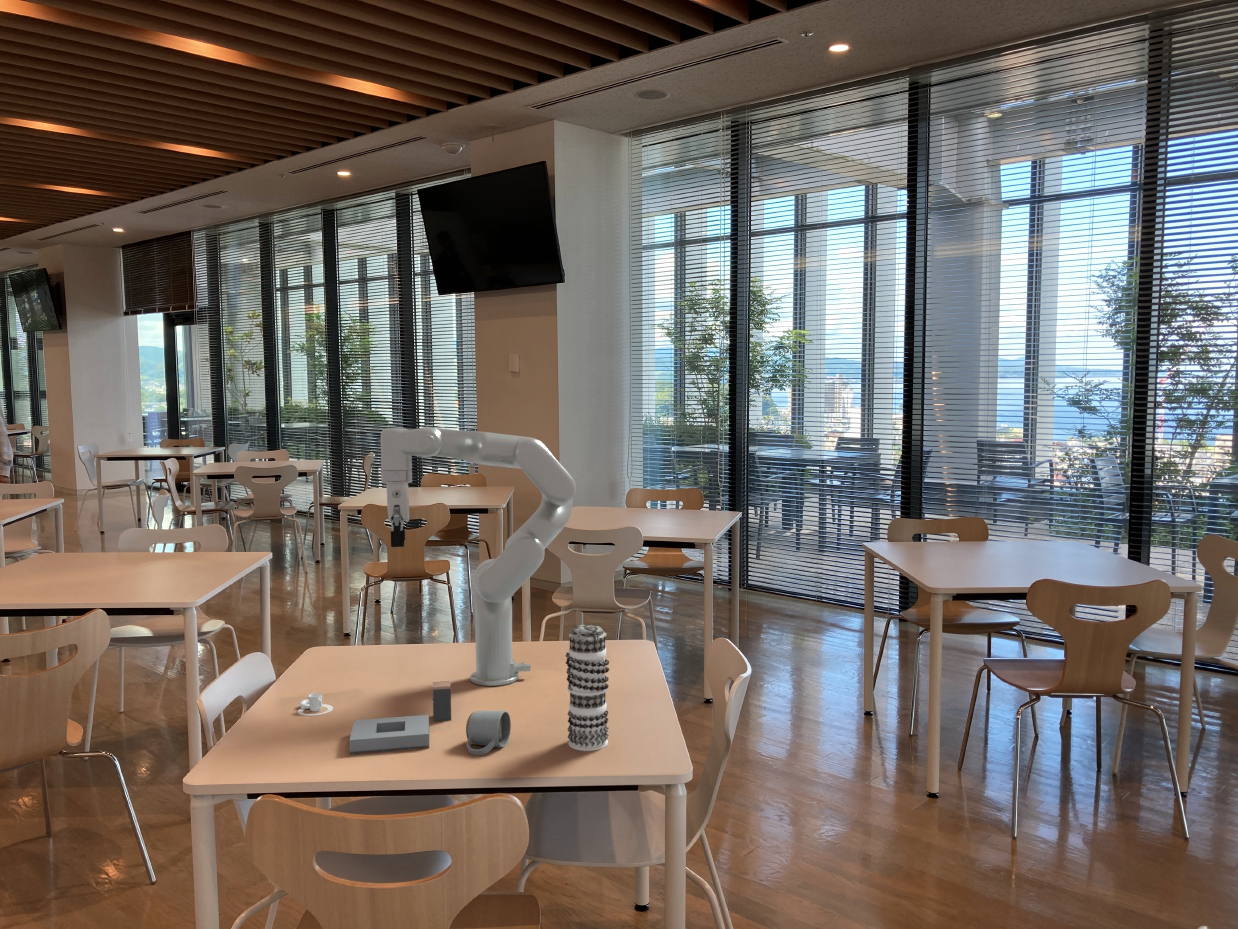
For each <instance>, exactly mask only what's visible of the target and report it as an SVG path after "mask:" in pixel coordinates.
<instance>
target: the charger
mask: <svg viewBox="0 0 1238 929" xmlns="http://www.w3.org/2000/svg"><path fill="white" fill-rule="evenodd" d="M451 690H452V686H451V680H442V681H432V717H433V721H432V722H436V723H437V722H446V721H447V722H448V721H449V722H450V721H452V691H451Z"/></svg>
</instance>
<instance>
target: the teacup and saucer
mask: <svg viewBox="0 0 1238 929" xmlns="http://www.w3.org/2000/svg"><path fill="white" fill-rule="evenodd" d="M307 696H308V698H307V699H303V700H301V701H300V702H299V707H300V708H299V709H298V710H297V714H298V715H300V716H305V717H313V716H321V715H322V716H323V715H326V714H328V713H330V712H332V711H333V710H334V707H333V706H332V705H330V704H325V703H324V704H323V693H320V692H314V693H310V694H309V695H307ZM322 707H323V708H326V709H327V710H325V711H324V712H321V710H322ZM305 710H310V711H311V712H313V713H315V712H316V713H315V714H313V713H312V714H311V713H310V714H308V713H305V712H303V711H305ZM317 712H319V713H317Z"/></svg>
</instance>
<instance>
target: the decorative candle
mask: <svg viewBox="0 0 1238 929" xmlns="http://www.w3.org/2000/svg"><path fill="white" fill-rule="evenodd" d="M607 635H608V633H606V632H605V631H604V630H603V629H602V627H600V626H599V625H596V624H581V625H577V626H575V627H574V628H573V630H572V632H569V634H568V636H569V648H568V651H567V652H565V653H566V654H565V657H566V661H565V664H566V665H567V668H566V674H567V678H566V681H567V683H568V685H567V691H568V692H569V704H568V705H569V706H568V707H569V708H568V709H569V710H568V712H567V715H568V720H567V722H568V724H569V725H568V728H567V732H568V735H567V738H568V746H569V747H570V748H571V749H574V750H576V751H581V752H591V751H599V750H602V749H604V748H606V747H607V746H608V744H609V741H608V738H609V733H608V732H609V726H608V722H609V718H608V714H609V710H607V708H608V707H607V706H608V705H607V701H606V696H607V695H606V692H608V689H609V684H608V683H607V682H608V681H609V677H608V676H607V675H606V674H607V673H609V671H610V668H609V667H608V665H610V664H609V663H610V661H609V660H608V659H607V658H605V657H607V647H606V637H607Z"/></svg>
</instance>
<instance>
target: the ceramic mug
mask: <svg viewBox="0 0 1238 929" xmlns="http://www.w3.org/2000/svg"><path fill="white" fill-rule="evenodd" d="M511 725H512V724H511V716H510V714H509V712H508V711H506V710H478V711H472V713H470V715H469V716H468V719H467V721H466V726H465V734H466V739H467V741H466V747H467V751H468V752H469V754H471V755H472V756H483V755H486V754H488V753H489V752H491V750H493V748H505V747H506V745H507V744H508V742H509V740H510V738H511V737H510V735H511V727H512V726H511ZM471 745H475V746H484V747H482V748H478V749H475V748H472V747H471Z"/></svg>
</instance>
